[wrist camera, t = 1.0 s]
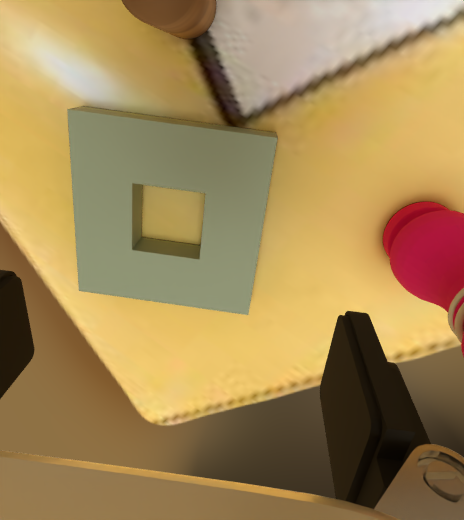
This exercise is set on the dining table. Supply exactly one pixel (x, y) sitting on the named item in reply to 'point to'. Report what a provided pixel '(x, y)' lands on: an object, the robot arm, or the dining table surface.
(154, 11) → the walnut peg
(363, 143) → the dining table surface
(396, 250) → the pepper mill
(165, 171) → the socket board
